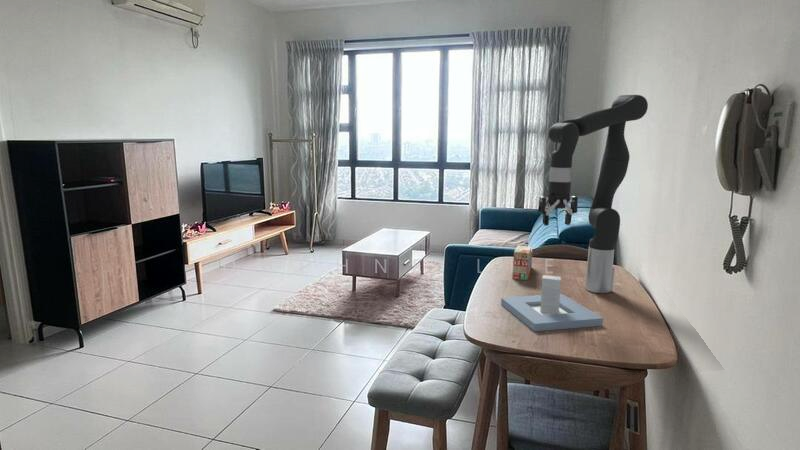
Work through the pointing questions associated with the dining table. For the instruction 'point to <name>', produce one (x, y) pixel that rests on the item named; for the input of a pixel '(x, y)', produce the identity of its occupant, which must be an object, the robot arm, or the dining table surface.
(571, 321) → the base board
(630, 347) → the dining table surface
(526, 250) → the stack of blocks
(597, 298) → the dining table surface
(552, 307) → the skincare box
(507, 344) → the dining table surface
